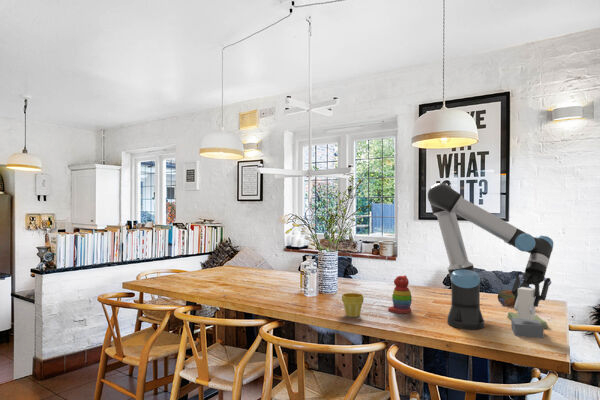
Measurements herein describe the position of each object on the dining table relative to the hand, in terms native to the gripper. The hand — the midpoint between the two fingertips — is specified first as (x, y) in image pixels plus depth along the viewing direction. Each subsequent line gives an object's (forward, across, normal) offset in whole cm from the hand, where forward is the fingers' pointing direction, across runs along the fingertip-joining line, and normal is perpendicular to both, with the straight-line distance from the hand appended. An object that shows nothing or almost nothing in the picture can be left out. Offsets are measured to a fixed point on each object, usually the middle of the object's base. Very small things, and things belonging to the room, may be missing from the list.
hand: (523, 310), depth 162 cm
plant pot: (+28, +66, +14) cm, 73 cm away
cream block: (0, 0, -5) cm, 5 cm away
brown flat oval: (-26, +20, -40) cm, 52 cm away
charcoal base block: (+5, 0, -10) cm, 11 cm away
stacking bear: (+11, +54, -3) cm, 56 cm away
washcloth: (-7, +6, -22) cm, 24 cm away
